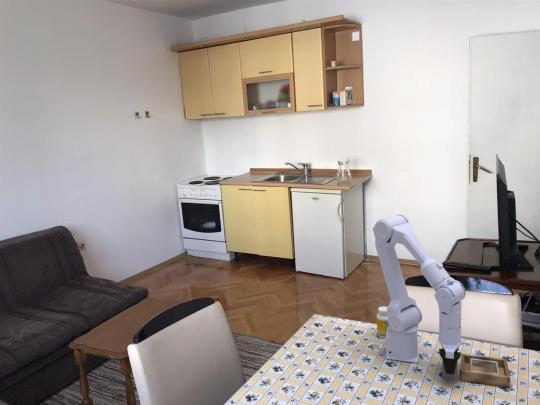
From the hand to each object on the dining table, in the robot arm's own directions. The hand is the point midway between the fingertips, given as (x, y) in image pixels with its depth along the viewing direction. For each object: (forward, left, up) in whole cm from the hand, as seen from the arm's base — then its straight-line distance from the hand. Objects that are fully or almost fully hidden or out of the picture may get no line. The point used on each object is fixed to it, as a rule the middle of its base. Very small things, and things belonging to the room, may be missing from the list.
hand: (449, 369), depth 127 cm
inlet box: (+9, +3, -2) cm, 10 cm away
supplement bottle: (-21, +20, -2) cm, 29 cm away
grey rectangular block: (0, 0, -2) cm, 2 cm away
